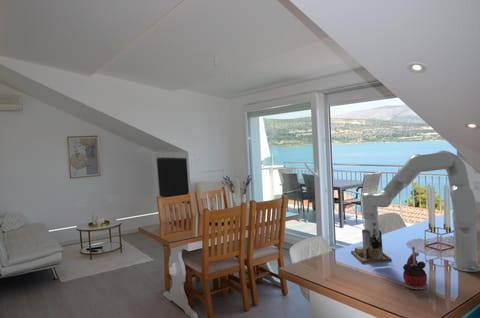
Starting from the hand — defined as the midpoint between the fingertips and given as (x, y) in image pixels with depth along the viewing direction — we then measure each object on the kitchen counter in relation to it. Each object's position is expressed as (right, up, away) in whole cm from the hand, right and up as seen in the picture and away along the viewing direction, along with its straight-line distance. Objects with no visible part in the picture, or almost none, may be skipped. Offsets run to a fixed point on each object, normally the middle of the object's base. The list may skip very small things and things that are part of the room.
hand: (372, 246), depth 201 cm
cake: (+6, -10, -36) cm, 38 cm away
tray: (+1, -8, +4) cm, 9 cm away
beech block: (-4, -7, +9) cm, 12 cm away
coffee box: (+1, -8, 0) cm, 8 cm away
